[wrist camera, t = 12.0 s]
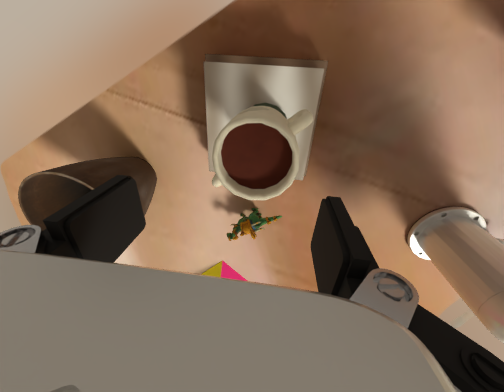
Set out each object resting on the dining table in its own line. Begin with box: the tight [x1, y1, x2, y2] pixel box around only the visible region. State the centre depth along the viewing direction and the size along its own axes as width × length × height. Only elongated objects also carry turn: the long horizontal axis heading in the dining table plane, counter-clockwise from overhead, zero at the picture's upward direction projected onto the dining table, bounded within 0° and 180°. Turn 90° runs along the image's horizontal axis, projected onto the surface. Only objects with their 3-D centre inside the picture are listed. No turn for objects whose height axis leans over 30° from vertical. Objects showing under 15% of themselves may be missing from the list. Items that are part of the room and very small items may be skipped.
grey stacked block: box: [204, 54, 328, 180], centre depth 32 cm, size 16×16×8 cm
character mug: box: [212, 103, 313, 200], centre depth 22 cm, size 11×7×13 cm, turn 127°
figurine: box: [227, 208, 282, 241], centre depth 41 cm, size 3×12×8 cm, turn 118°
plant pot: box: [18, 157, 157, 231], centre depth 36 cm, size 15×15×16 cm
